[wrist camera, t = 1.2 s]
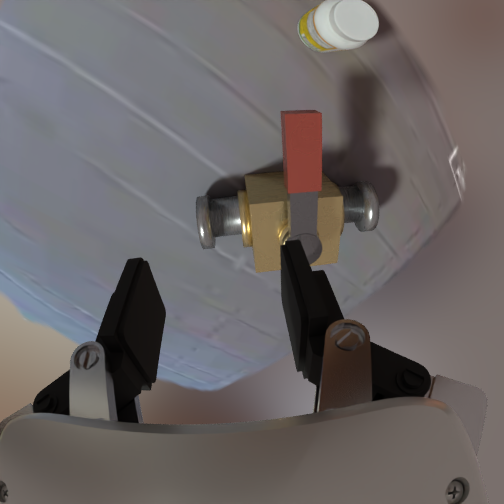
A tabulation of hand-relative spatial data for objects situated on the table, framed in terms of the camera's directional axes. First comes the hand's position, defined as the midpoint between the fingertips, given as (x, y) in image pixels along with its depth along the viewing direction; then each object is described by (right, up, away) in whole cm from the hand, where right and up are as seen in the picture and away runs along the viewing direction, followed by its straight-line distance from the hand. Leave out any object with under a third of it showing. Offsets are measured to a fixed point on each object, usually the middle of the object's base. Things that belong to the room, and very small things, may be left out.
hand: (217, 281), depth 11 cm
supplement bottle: (+9, +25, +12) cm, 29 cm away
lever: (+6, +6, +14) cm, 16 cm away
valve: (+5, +7, +24) cm, 26 cm away
